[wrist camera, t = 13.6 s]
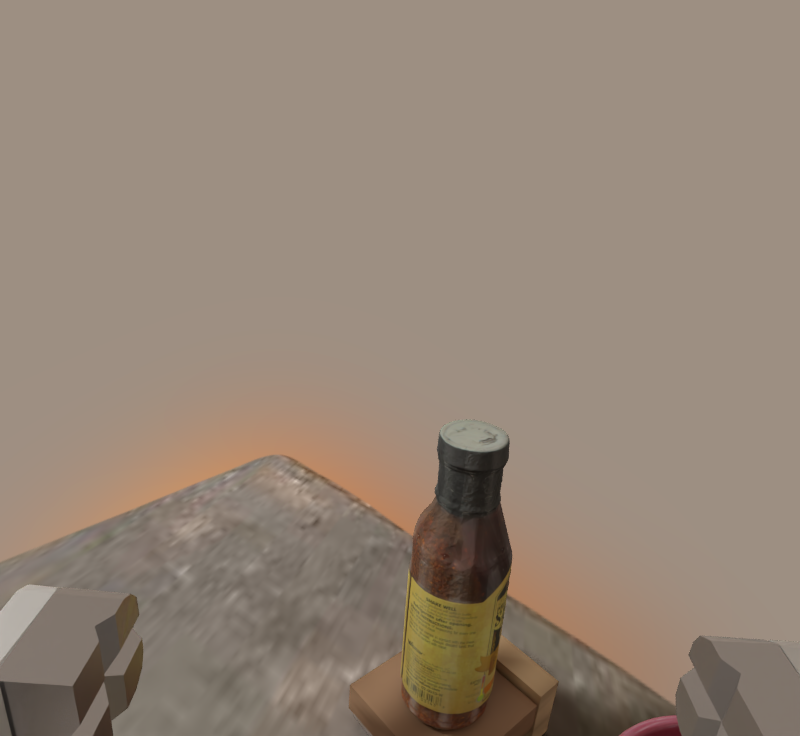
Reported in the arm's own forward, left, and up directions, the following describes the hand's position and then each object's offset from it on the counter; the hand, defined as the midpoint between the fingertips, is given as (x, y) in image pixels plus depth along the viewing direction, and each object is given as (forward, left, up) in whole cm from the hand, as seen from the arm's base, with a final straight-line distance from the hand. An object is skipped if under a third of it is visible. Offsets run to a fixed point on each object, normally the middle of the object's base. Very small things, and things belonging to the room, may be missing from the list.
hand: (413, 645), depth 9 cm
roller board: (-14, +21, -34) cm, 42 cm away
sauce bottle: (-15, +19, -30) cm, 39 cm away
